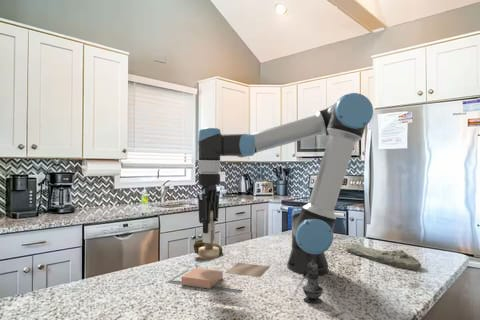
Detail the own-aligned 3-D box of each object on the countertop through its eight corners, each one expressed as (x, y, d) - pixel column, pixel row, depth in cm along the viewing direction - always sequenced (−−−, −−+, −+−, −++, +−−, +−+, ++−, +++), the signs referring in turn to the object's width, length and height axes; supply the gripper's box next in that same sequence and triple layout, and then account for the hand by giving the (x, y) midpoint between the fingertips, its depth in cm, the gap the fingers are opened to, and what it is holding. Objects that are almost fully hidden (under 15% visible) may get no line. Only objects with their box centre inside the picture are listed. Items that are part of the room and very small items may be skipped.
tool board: (270, 268, 128) (270, 266, 128) (260, 279, 116) (260, 276, 116) (238, 265, 133) (238, 262, 133) (225, 275, 121) (225, 272, 121)
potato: (225, 259, 141) (225, 240, 141) (194, 261, 138) (194, 242, 138) (221, 254, 149) (221, 236, 149) (192, 256, 146) (192, 237, 146)
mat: (254, 280, 115) (254, 278, 115) (240, 295, 102) (240, 293, 102) (187, 272, 124) (187, 270, 124) (166, 284, 111) (166, 282, 111)
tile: (222, 271, 115) (209, 280, 105) (222, 279, 115) (209, 289, 105) (196, 267, 118) (181, 276, 109) (196, 275, 118) (181, 285, 109)
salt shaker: (300, 297, 101) (300, 256, 102) (319, 296, 102) (319, 256, 102) (305, 305, 96) (305, 262, 96) (326, 304, 96) (325, 262, 96)
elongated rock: (356, 252, 160) (340, 256, 155) (355, 240, 160) (339, 244, 155) (427, 267, 129) (411, 273, 124) (426, 253, 129) (410, 258, 125)
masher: (222, 254, 119) (222, 210, 119) (213, 259, 112) (213, 212, 112) (204, 252, 121) (204, 209, 121) (194, 257, 115) (195, 211, 115)
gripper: (209, 172, 126) (209, 236, 125) (188, 173, 111) (187, 245, 111) (228, 172, 123) (227, 237, 123) (208, 173, 108) (208, 247, 108)
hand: (208, 241), depth 117 cm, fingers closed on masher, 3 cm apart
